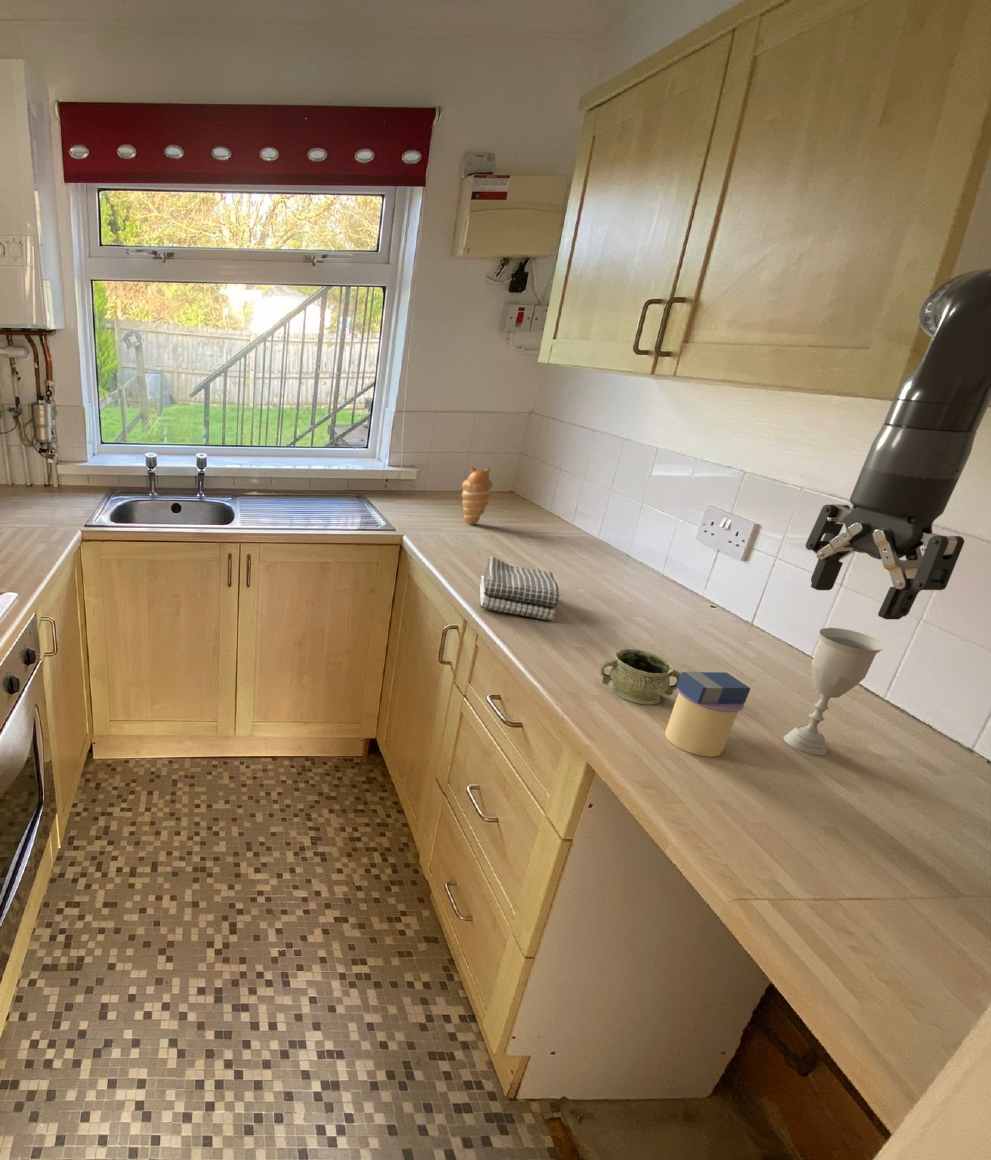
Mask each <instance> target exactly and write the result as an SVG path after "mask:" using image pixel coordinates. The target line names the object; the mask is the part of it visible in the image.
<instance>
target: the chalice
mask: <svg viewBox="0 0 991 1160" xmlns="http://www.w3.org/2000/svg"><path fill="white" fill-rule="evenodd" d="M819 636H820V641H819V643H818V646H817V647H816V648H817V649H816V650H815V653H814V656H813V658H812V660H811V676H812V681H813V685H814V689H815V692H817V693H818V694H820V699H818V701H817V702H815V703H814V708H815V710H814V711H813V712H812V713H809V714H808V717H809V718H810V721H809V723H808V724H807V725H799V726H796V727H793V728H792V729H791V730H790V731H788V733H786V734H785V735H783V737H782V739H783V740H784V742H785V743H786V744H787V745H789V746H791V747H792V748H794V749H796V750H798V751H801V752H804V753H807V754H810V755H818V756H820V755H825V754H827V752H828V751H827V747H826V746H827V743H826V738H825V736H824V734H823V733H822V732H821V731H820V730H819V729H818V725H819V724H820V723H821V722H823V721H825V718H824V713H825V712H826V711H827V710H829V707H828V706H829V704H828V703H829V701H830V699H832V698H833V699H837V698H840V697H842V696H843V695H845V694H846V693H848V692H849V691H851V690H852V689H854V688H855V687H857V685H858V684H860V683H861V682H862V681H863V680H864V679H865V678H866V676H867V674H868V673H869V670H870V668H871V665H872V664H873V661H874V660H875V657H876V655H877V654H879V653H880V652H881V651H882V650H884V649H885V646H886V645H885V644H884V643H883V642H882V641H880V640H879V639H877V638H875V637H873V636H871V635H868V634H865V633H862V632H858V631H855V630H850V629H844V628H841V627H839V628H838V627H824V628H821V629H820V630H819Z"/></svg>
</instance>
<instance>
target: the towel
mask: <svg viewBox="0 0 991 1160" xmlns="http://www.w3.org/2000/svg"><path fill="white" fill-rule="evenodd" d="M478 583H479V585H478V586H479V601H480V607H481V608H482V609H486V610H489V611H494V612H498V613H504V614H512V615H516V616H522V617H527V618H531V619H532V618H533V619H537V620H547V621H553V620H554V616H555V614H556V607H557V606H558V605H559V597H560V594H559V590H560V589H559V585H558V583H557V581H556V580H555V578H554V575H553V572H552V571H549V570H541V569H536V568H529V567H526V568H525V567H521V566H512V565H509V564H507V563H506V562H504V561H502V560H500V559H499V558H496V557H494V556H490V557H489V558H488V559H487V562H486V567H485V570H484V574H482V575H481V576H480V580H479V582H478Z"/></svg>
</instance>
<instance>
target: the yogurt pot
mask: <svg viewBox="0 0 991 1160" xmlns="http://www.w3.org/2000/svg"><path fill="white" fill-rule="evenodd" d="M676 691H677V695H676V698H675V702H674V705H673V708H672V711H671V714H670V717H669V720H668V723H667V726H666V729H665V732H664V735H665V738H666V739H667V741H669V742H670V743H671V744H672V745H674V746H675V747H677V748H679V749H680V750H682V751H684V752H687V753H689V754H692V755H696V756H700V757H706V758H708V757H709V758H711V757H717V756H720V755H722V753H723V752H724V749H725V746H726V744H727V741H728V738H729V736H730V733H731V730H732V728H733V726H734V723H735V720H736V717H737V715H738V712H740V711H742V710H743V709H744V707H745V703H744V704H741V703H717V704H701V703H697V702H695V701H694V700H693V699H691V698H690V697H689V696H688V695H686V694H685V693H684V692H682V691H681V690H680V689H678V688H677V689H676Z"/></svg>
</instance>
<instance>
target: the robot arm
mask: <svg viewBox="0 0 991 1160" xmlns="http://www.w3.org/2000/svg"><path fill="white" fill-rule="evenodd" d="M918 322H919V323H918V324H919V326H920V328H921V329H922V331H923V332H924V333H925V334H927V335H928V336H929V337H930V338H931V340H930V342H929V344H928V346H927V348H926V351H925V352H924V355H923V357H922V359H921V360H920V363H919V365H918V367H916V369H914V370H913V371H910V373H908V374H907V375H906V376H904V378H903V379H902V381H901V383H900V384H899V385H898V388H897V390H896V391H895V394H894V396H893V398H892V402H891V403H890V406H889V408H888V411H887V413H886V416H885V418H884V421H883V424H882V425H881V428H880V430H879V431H878V433H877V434H876V436H875V437H874V439H873V441H872V443H871V445H870V447H869V450H868V453H867V454H866V458H865V460H864V463H863V465H862V467H861V470H860V472H859V475H858V477H857V481H856V482H855V485H854V488H853V490H852V492H851V495H850V497H849V502H850V504H851V505H852V507H850V505H848V504H836V503H835V504H825V505H822V507H821V509H820V512H819V514H818V516H817V519H816V520H815V523H814V525H813V527H812V529H811V531H810V534H809V536H808V538H807V539H806V540H807V541H806V542H805V548H806V550H808V551H813V552H814V553H815V554H816V558H817V562H816V564H815V568H814V570H813V573H812V574H811V576H810V577H811V578H810V583H811V584H810V588H812V589H814V590H815V591H830V590H832V589H833V588H834V586H835V583H836V581H837V579H838V576H839V574H840V571H841V569H842V566H843V563H844V562H842V561H840V560H843V559H845V558H846V557H848V556H850V555H851V554H853V553H855V552H856V553H859V554H867V555H868V556H870V557H871V558H873V559H876V560H881V562H882V566H883V568H884V569H885V570H887V571H888V573H889V575H890V579H891V582H892V586H889V588H888V591H887V593H886V595H885V597H884V599H883V601H882V604H881V606H880V609H879V610H878V613H877V615H878V617H879V618H882V619H884V620H900V619H902V618H905V617H906V616H907V615H908V614H909V613H910V611H911V609H912V608H913V605H914V603H915V601H916V598H917V596H918V595H919V593H920V592H921V591H943V590H945V589H946V588H947V586H948V584H949V582H950V579H951V576H952V574H953V571H954V570H955V567H956V564H957V562H958V559H959V557H960V554H961V551H962V549H963V548H964V547H963V546H964V544H965V539H964V538H963V537H962V536H961V535H942V534H939V533H935V532H933V523H934V522H935V521H936V520H937V519H938V518H939V517H941V516H942V515H943V514H944V512H945V510H946V507H947V505H948V503H949V501H950V499H951V498H952V497H951V496H952V494H953V493H954V491H955V489H956V486H957V484H958V482H959V480H960V477H961V475H962V473H963V471H964V469H965V466H966V464H967V462H968V460H969V458H970V455H971V453H972V450H973V446H974V442H975V438H976V435H977V433H978V430H979V428H980V426H981V423H982V421H983V419H984V417H985V415H986V412H987V411H988V408H989V406H990V404H991V267H987V268H982V269H976V270H971V271H967V272H964V273H961V274H959V275H956V276H954V277H952V278H950V279H948V280H946V281H945V282H943V283H942V284H940V285H939V286H937V287H936V288H935V289H934V290H932V292H930V293H929V294H928V295H927V297H926V298H925V299H924V301H923V302H922V304H921V306H920V309H919V312H918ZM844 525H845V529H846V530H844V531H842V529H843V527H844ZM841 531H842V532H841ZM922 552H923V553H922ZM903 557H905V560H904V559H901V558H903Z"/></svg>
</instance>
